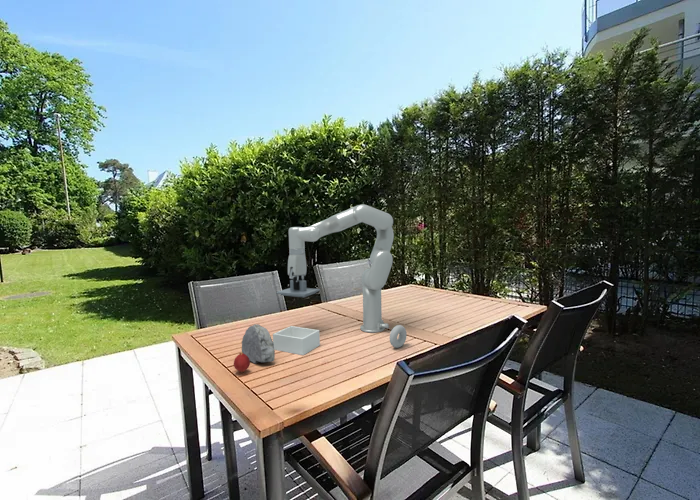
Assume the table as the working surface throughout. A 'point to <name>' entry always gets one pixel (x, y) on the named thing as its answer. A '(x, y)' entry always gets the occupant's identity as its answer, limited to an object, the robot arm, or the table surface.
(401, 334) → the donut
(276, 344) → the tub
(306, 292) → the lid
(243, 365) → the onion
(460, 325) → the table surface
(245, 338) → the decorative rock
